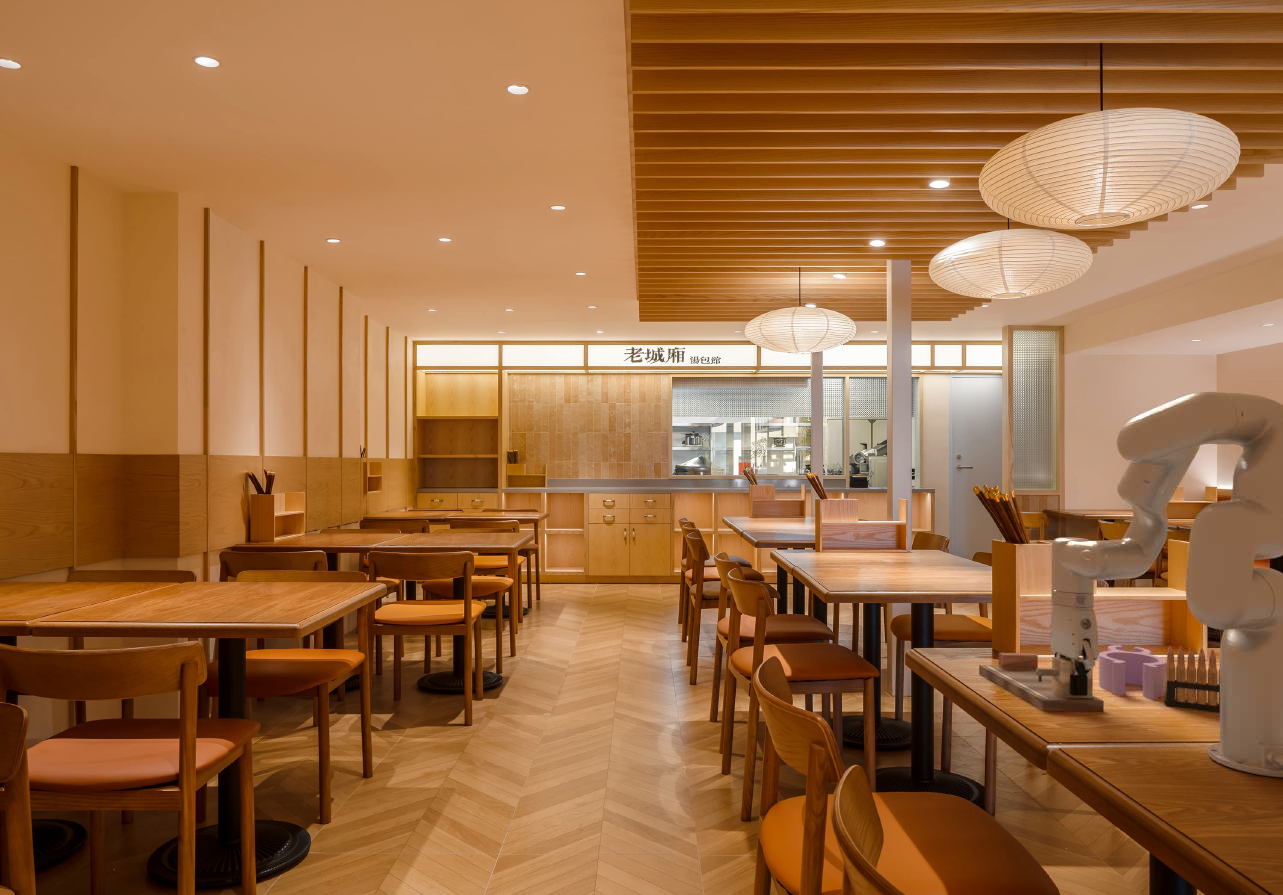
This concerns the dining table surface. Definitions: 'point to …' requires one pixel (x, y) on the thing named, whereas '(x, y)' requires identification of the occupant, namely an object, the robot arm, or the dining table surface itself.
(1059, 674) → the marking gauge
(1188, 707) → the ammunition clip
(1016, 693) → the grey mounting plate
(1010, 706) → the dining table surface
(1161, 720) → the dining table surface
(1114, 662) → the clip
